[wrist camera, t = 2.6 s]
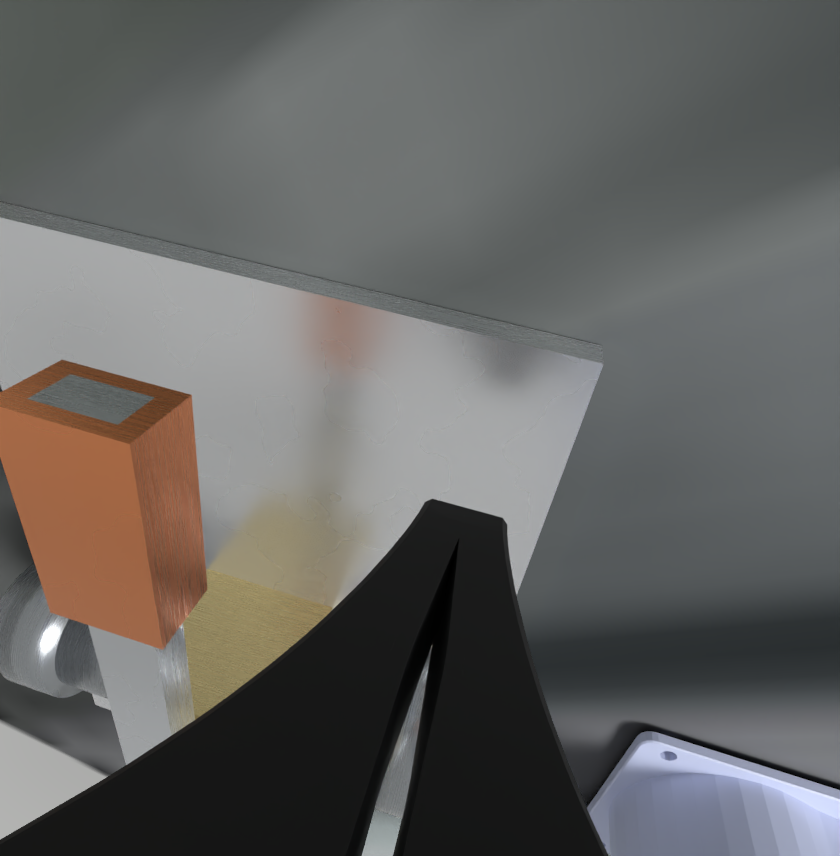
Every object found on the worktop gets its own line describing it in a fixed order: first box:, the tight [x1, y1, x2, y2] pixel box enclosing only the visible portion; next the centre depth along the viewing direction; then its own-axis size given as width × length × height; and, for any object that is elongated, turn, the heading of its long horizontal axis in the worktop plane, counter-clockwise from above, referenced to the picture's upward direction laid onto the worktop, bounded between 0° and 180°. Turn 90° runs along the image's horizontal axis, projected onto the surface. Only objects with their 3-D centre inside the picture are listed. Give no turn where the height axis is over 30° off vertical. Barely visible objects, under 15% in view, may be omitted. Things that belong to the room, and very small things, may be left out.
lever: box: [0, 360, 207, 765], centre depth 12 cm, size 14×3×1 cm, turn 171°
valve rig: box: [0, 202, 603, 819], centre depth 17 cm, size 16×22×6 cm
